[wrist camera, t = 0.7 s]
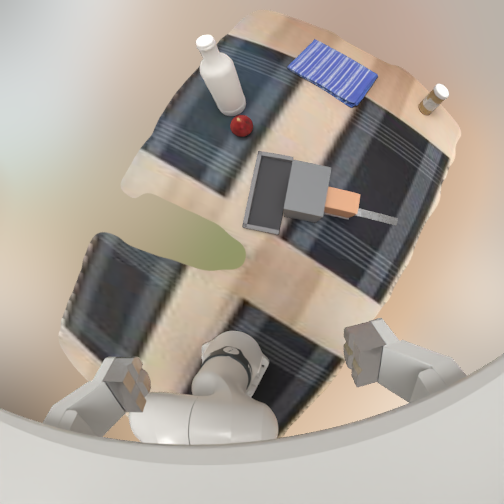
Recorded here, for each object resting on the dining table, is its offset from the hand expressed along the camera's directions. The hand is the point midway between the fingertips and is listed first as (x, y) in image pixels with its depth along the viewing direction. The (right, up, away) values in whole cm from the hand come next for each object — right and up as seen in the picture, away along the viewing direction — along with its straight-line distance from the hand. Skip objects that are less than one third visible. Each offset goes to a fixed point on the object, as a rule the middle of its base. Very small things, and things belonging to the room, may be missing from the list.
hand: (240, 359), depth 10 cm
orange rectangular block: (+18, +16, +58) cm, 63 cm away
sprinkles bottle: (+53, +48, +53) cm, 89 cm away
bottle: (-5, +46, +60) cm, 76 cm away
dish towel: (+25, +58, +57) cm, 85 cm away
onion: (-2, +37, +60) cm, 71 cm away
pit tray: (+5, +19, +60) cm, 63 cm away
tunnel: (+14, +17, +59) cm, 63 cm away
